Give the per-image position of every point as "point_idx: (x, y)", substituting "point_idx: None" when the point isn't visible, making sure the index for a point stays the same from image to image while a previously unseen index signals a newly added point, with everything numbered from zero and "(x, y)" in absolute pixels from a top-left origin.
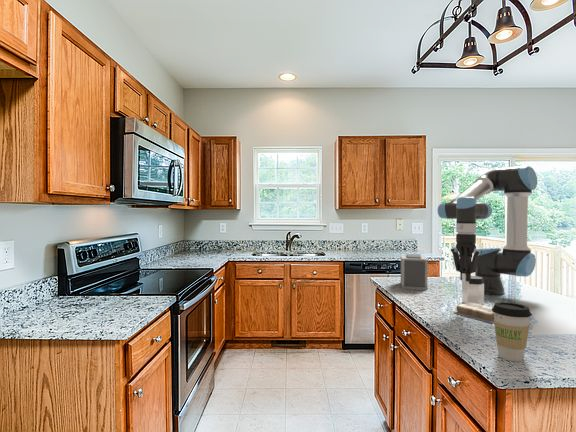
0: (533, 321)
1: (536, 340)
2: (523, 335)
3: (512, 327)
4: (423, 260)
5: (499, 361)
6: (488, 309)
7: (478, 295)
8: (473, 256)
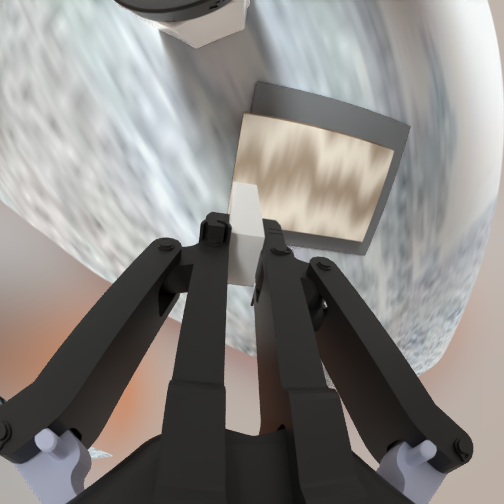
0: (449, 137)
1: (439, 290)
2: None
3: None
4: None
5: None
6: (347, 188)
7: (243, 19)
8: (367, 441)
